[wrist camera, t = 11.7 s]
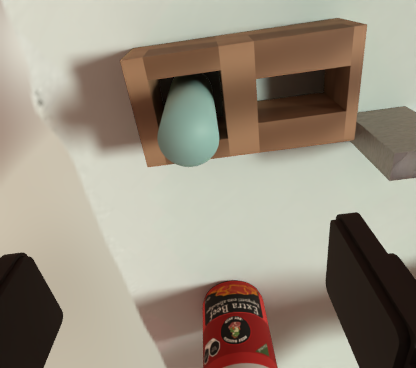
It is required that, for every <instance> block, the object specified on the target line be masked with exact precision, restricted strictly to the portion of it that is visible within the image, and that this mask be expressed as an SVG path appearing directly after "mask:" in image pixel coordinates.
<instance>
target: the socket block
mask: <svg viewBox="0 0 416 368" xmlns="http://www.w3.org/2000/svg"><path fill="white" fill-rule="evenodd" d="M366 31H367V24H362V23H358V22H353V21H349V20H345V19H340V18H335V19H328V20H321V21H314V22H308V23H301V24H294V25H287V26H281V27H274V28H267V29H260V30H253V31H247V32H240V33H233V34H226V35H220V36H213V37H206V38H199V39H193V40H186V41H179V42H172V43H166V44H159V45H152V46H145V47H138V48H133V49H132V50H131V51H130V52H129V53H127V54H126V55H125V56H124V57H123V58H122V59H121V60H120V63H121V67H122V71H123V74H124V78H125V82H126V86H127V90H128V94H129V97H130V101H131V105H132V109H133V113H134V117H135V120H136V124H137V128H138V132H139V136H140V140H141V144H142V147H143V151H144V155H145V159H146V163H147V167H153V166H161V165H168V164H174V163H173V162H171V161H170V160H168V159H167V158H166V157H165V156H164V155H163V153H162V152H161V150H160V148H159V145H158V140H157V135H158V130H159V126H160V123H161V119H162V115H163V112H164V103H163V98H162V93H161V89H160V84H159V79H163V78H170V77H177V76H184V75H191V74H198V73H205V72H212V71H219V79H220V88H221V97H222V106H223V115H224V116H219V117H216V118H217V125H218V132H219V145H218V148H217V150H216V152H215V154H214V155H213V156H212V157H211V158H210V159H214V158H222V157H229V156H237V155H245V154H252V153H260V152H267V151H275V150H283V149H290V148H298V147H306V146H313V145H321V144H328V143H336V142H344V141H351V140H354V138H355V129H356V120H357V111H358V102H359V93H360V84H361V75H362V66H363V57H364V48H365V39H366ZM323 69H325V74H324V92H320V93H313V94H306V95H299V96H291V97H284V98H277V99H270V100H262V101H257V90H256V79H259V78H266V77H273V76H280V75H287V74H294V73H302V72H309V71H316V70H323Z"/></svg>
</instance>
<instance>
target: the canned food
mask: <svg viewBox="0 0 416 368" xmlns="http://www.w3.org/2000/svg"><path fill="white" fill-rule="evenodd" d="M203 368H277V363H276V359H275V354H274V349H273V345H272V340H271V335H270V331H269V326H268V321H267V317H266V312H265V307H264V303H263V299H262V297H261V295H260V293H259V292H258V290H257V289H256V288H255V287H254V286H252V285H251V284H249V283H246V282H242V281H227V282H223V283H220V284H218V285H216V286H215V287H213V288H212V289H211V290H210V291H209V292H208V293H207V295H206V297H205V300H204V303H203Z"/></svg>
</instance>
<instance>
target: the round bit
mask: <svg viewBox="0 0 416 368" xmlns="http://www.w3.org/2000/svg"><path fill="white" fill-rule="evenodd" d="M157 140H158V145H159V148H160V150H161V152H162V153H163V155H164V156H165V157H166V158H167V159H168V160H170V161H171V162H173V163H174V164H177V165H180V166H185V167H193V166H198V165H201V164H203V163H205V162H207V161H208V160H209V159H210V158H211V157H212V156H213V155H214V154H215V152H216V150H217V148H218V145H219V132H218V125H217V118H216V111H215V104H214V97H213V91H212V86H211V83H210V81H209V79H208V78H207V77H206V76H205V75H204V74H202V73H198V74H191V75H184V76H177V77H175V78H174V79H173V81H172V83H171V86H170V89H169V93H168V97H167V101H166V104H165V108H164V112H163V115H162V119H161V123H160V126H159V130H158V135H157Z"/></svg>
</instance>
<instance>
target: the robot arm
mask: <svg viewBox="0 0 416 368" xmlns="http://www.w3.org/2000/svg"><path fill="white" fill-rule="evenodd" d="M326 288H327V292H328V294H329V297H330V299H331V302H332V304H333V306H334V309H335V311H336V313H337V316H338V318H339V320H340V323H341V325H342V328H343V330H344V332H345V335H346V337H347V339H348V342H349V344H350V346H351V349H352V351H353V354H354V356H355V358H356V361H357V363H358V365H359V368H416V279H415V278H414V277H413V275H412V274H411V273H410V271H409V270H408V269H407V267H406V266H405V265H404V263H403V262H402V261H401V259H400V258H399V257H398V256H397V255H395V254H393V253H392V254H388V253H387V252H386V251H385V249H384V248H383V246H382V245H381V244H380V242H379V241H378V239H377V238H376V236H375V235H374V234H373V232H372V231H371V229H370V228H369V227H368V225H367V224H366V222H365V221H364V220H363V218H362V217H361V215H360V214H359V213H357V212H356V213H348V214H339V215H337V217H336V220H332V221H331V223H330V233H329V246H328V259H327V271H326ZM62 319H63V312H62V310H61V308H60V306H59V304H58V303H57V301H56V299H55V297H54V295H53V294H52V292H51V290H50V288H49V287H48V285H47V283H46V281H45V280H44V278H43V276H42V274H41V272H40V271H39V269H38V267H37V265H36V264H35V262H34V260H33V259H32V258H31V257H28V256H27V254H25V253H15V254H7V255H3V256H2V257H1V258H0V368H44V365H45V363H46V360H47V358H48V355H49V353H50V350H51V348H52V345H53V343H54V340H55V338H56V336H57V333H58V331H59V328H60V326H61V324H62Z"/></svg>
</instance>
